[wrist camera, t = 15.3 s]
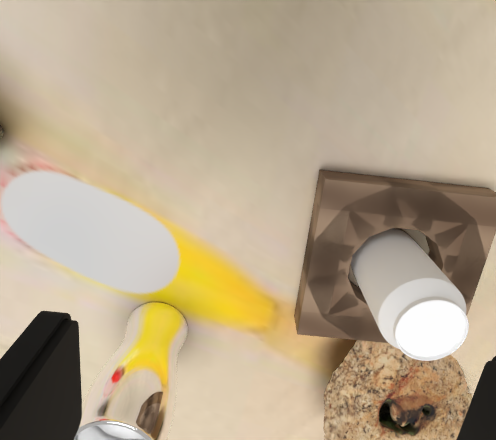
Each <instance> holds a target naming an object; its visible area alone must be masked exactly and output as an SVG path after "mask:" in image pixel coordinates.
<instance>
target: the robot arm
mask: <svg viewBox="0 0 496 440" xmlns="http://www.w3.org/2000/svg"><path fill="white" fill-rule="evenodd" d="M81 418H82V399H81V375H80V351H79V327H78V322H77V321H73V320H71V317H70V314H68V313H60V312H50V311H41V312H40V313H39V314H38V315H37V316H36V317H35V318H34V320H33V321H32V322H31V323H30V324H29V326H28V327H27V328H26V329H25V330H24V332H23V333H22V334H21V335H20V336H19V338H18V339H17V340H16V341H15V342H14V344H13V345H12V346H11V347H10V348H9V350H8V351H7V352H6V353H5V354H4V356H3V357H2V358H1V359H0V440H74V438H75V436H76V434H77V431H78V429H79V426H80V423H81ZM457 440H496V356H495V357H494V358H493V359H492V361H488V362H487V363H486V364H485V366H484V369H483V372H482V374H481V377H480V380H479V382H478V385H477V387H476V390H475V393H474V395H473V398H472V400H471V403H470V406H469V408H468V411H467V414H466V416H465V419H464V421H463V424H462V427H461V429H460V432H459V434H458V437H457Z"/></svg>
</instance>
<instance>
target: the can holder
mask: <svg viewBox="0 0 496 440" xmlns="http://www.w3.org/2000/svg"><path fill="white" fill-rule="evenodd" d="M391 228H403V229H412V230H419V231H421V232H422V233H423V234H425V236H426V239H427V242H428V245H429V249H430V252H429V255H428V256H429V257H430V258H431V260H432V261H433V262H434V263H435V264H436V265H437V266H438V267H439V269H440V270H441V271H442V272H443V273H444V274H445V275H446V276H447V278H448V279H449V280H450V281H451V282H452V283H453V284H454V285H455V287H456V288H457V289H458V290H459V291H460V292H461V294H462V296H463V298H464V300H465V303H466V316H467V314H468V311H469V308H470V305H471V302H472V299H473V296H474V293H475V291H476V288H477V285H478V282H479V279H480V276H481V273H482V270H483V267H484V265H485V262H486V259H487V256H488V253H489V250H490V247H491V244H492V241H493V238H494V236H495V233H496V192H494V191H492V190H490V189H488V188H481V187H472V186H463V185H453V184H444V183H435V182H426V181H417V180H408V179H398V178H389V177H380V176H371V175H362V174H352V173H343V172H334V171H325V170H320V171H319V177H318V182H317V188H316V194H315V200H314V205H313V211H312V217H311V223H310V228H309V234H308V240H307V246H306V252H305V257H304V263H303V269H302V275H301V280H300V286H299V292H298V298H297V303H296V309H295V315H294V317H295V323H296V329H297V334H300V335H310V336H321V337H331V338H341V339H352V340H362V341H372V342H383V343H388V342H387V341H386V340H385V338H384V337H383V336H382V334H381V332H380V330H379V328H378V326H377V323H376V321H375V319H374V317H373V315H372V313H371V311H370V309H369V306H368V304H367V302H366V300H365V298H364V296H363V294H362V291H361V289H360V288H359V287H357V286H356V285H355V284H353V283H352V282H350V281H349V279H348V274H349V269H350V264H351V260H352V255H353V254H354V253H355V252H356V251H357V250H358V249H359V248H360V247H361V245H362V244H363V243H364V242H365V241H366V240H367V239H368V238H369V237H370V236H373V235H376V234H378V233H381V232H383V231H386V230H389V229H391Z"/></svg>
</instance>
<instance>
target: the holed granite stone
mask: <svg viewBox="0 0 496 440" xmlns="http://www.w3.org/2000/svg"><path fill="white" fill-rule="evenodd" d="M467 392H468V388H467V383H466V381H465V379H464V373H463V371H462V370H461V368H460V366H459V364H458V363H457V360H456V359H455V358H453V357H452V356H451V355H448V356H446V357H443V358H441V359H437V360H431V361H422V360H416V359H413V358H411V357H409V356H407V355H406V354H404V353H403V352H402V351H401V350H400V349H398V348H396V347H394V346H392V345H391V344H390V343H383V342H372V341H362V340H357V341H356V342H355V345H354V346H353V347H352V348H351V350H350V351H349V353H348V355H347V356H346V357H345V358H344V361H343V363H341V364H340V366H339V367H338V368H337V369H336V370H335V371H334V372H333V373H332V378H331V380H330V381H329V383H328V386H327V388H326V390H325V393H324V404H325V416H324V428H323V429H324V432H325V435H324V440H457V437H458V434H459V432H460V429H461V427H462V424H463V421H464V419H465V416H466V414H467V411H468V408H469V406H470V403H471V400H472V395H471V394H469V393H467ZM384 403H388V404H384Z"/></svg>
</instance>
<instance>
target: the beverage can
mask: <svg viewBox="0 0 496 440" xmlns="http://www.w3.org/2000/svg"><path fill="white" fill-rule="evenodd" d="M351 268H352V271H353V274H354V276H355V278H356V281H357V283H358V285H359V287H360V289H361V291H362V294H363V296H364V298H365V300H366V302H367V304H368V306H369V309H370V311H371V313H372V315H373V317H374V319H375V321H376V323H377V326H378V328H379V330H380V332H381V334H382V336H383V337H384V338H385V340H386V341H387V342H388V343H390V344H391V345H392V346H394V347H396V348H398V349H400V350H401V351H402V352H403V353H404V354H406V355H407V356H409V357H411V358H413V359H416V360H422V361H431V360H437V359H441V358H443V357H446V356H448V355H450V354H451V353H453V352H454V351H456V350H457V349H458V348H459V347H460V346H461V345H462V343H463V342H464V340H465V338H466V336H467V333H468V328H469V324H468V319H467V316H466V303H465V300H464V298H463V296H462V294H461V292H460V291H459V290H458V289H457V288H456V287H455V285H454V284H453V283H452V282H451V281H450V280H449V279H448V278H447V276H446V275H445V274H444V273H443V272H442V271H441V270H440V269H439V267H438V266H437V265H436V264H435V263H434V262H433V261H432V260H431V258H430V257H429V256H428V255H427V254H426V253H425V252H424V251H423V250H422V248H421V247H420V246H419V245H418V244H417V243H416V242H415V241H414V240H413V239H412V238H411V237H410V236H409V235H408V234H407V233H405V232H403V231H401V230H399V229H395V228H391V229H389V230H386V231H383V232H381V233H378V234H376V235H373V236H370V237H369V238H368V239H367V240H366V241H365V242H364V243H363V244H362V245H361V247H360V248H359V249H358V250H357V251H356V252H355V253H354V254H353V255H352V260H351Z"/></svg>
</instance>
